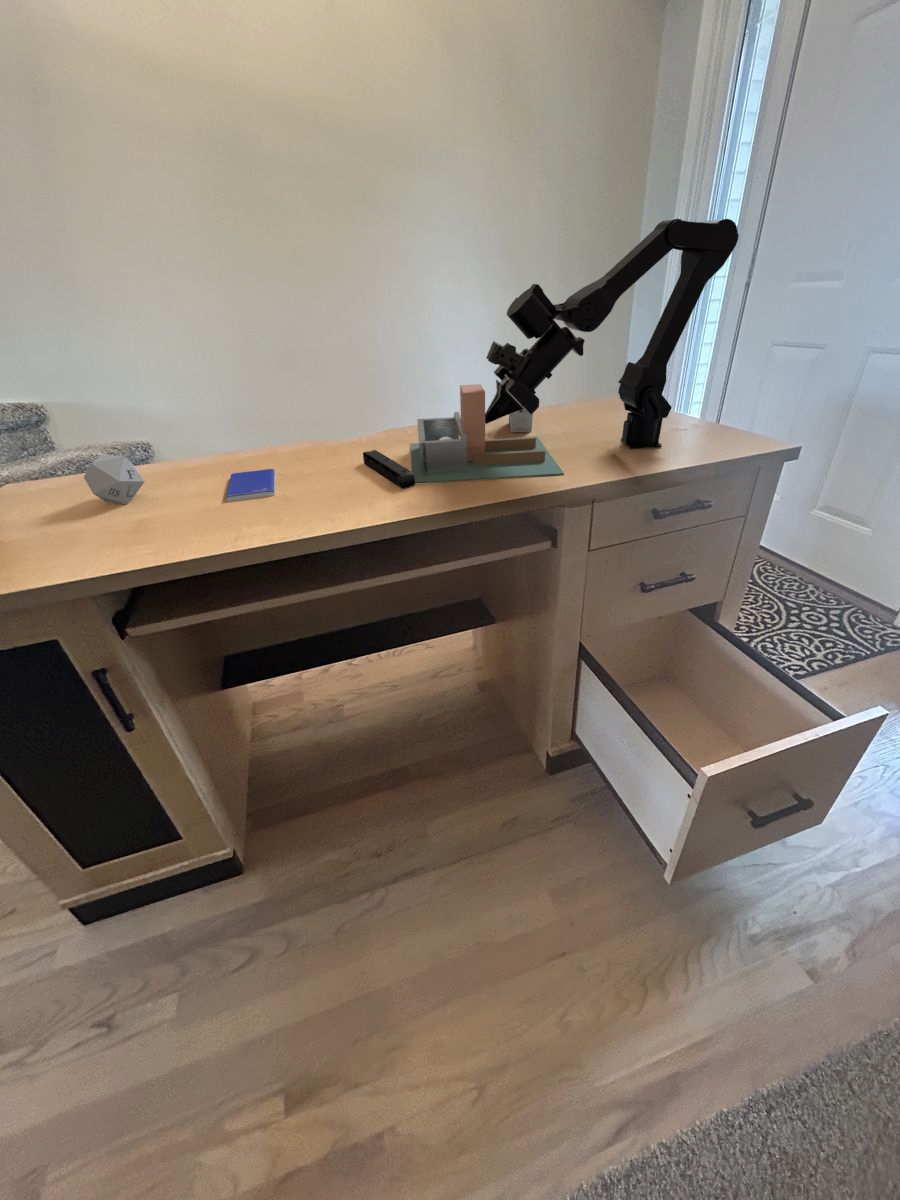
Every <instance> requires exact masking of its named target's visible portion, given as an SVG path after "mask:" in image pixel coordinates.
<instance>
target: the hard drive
mask: <svg viewBox="0 0 900 1200" xmlns="http://www.w3.org/2000/svg"><path fill="white" fill-rule="evenodd" d="M274 496H276V471H275V469H274V468H267V469H260V470H257V469H256V470H252V471H251V470H249V471H243V472H234V473H233V472H232V473H231V474H230V477H229V481H228V485H227V491H226V495H225V499H226V502H235V501H242V500H251V499H256V498H265V497H274Z"/></svg>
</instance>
